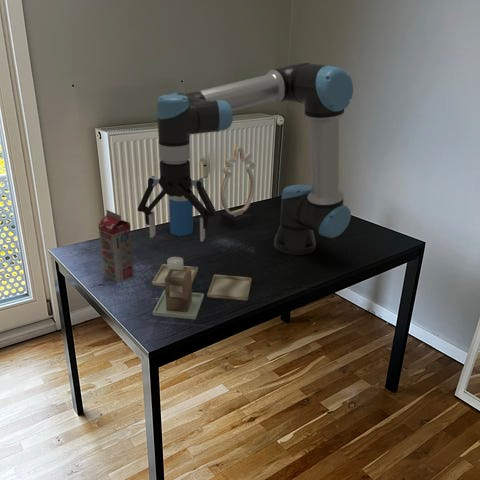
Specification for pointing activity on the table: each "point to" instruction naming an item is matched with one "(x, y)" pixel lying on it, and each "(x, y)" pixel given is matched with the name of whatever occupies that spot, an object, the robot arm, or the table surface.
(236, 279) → the tray
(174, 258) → the white dome
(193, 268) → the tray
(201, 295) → the tray
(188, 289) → the letter block
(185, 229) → the water bottle
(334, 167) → the robot arm
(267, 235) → the table surface
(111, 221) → the juice carton
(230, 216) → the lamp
